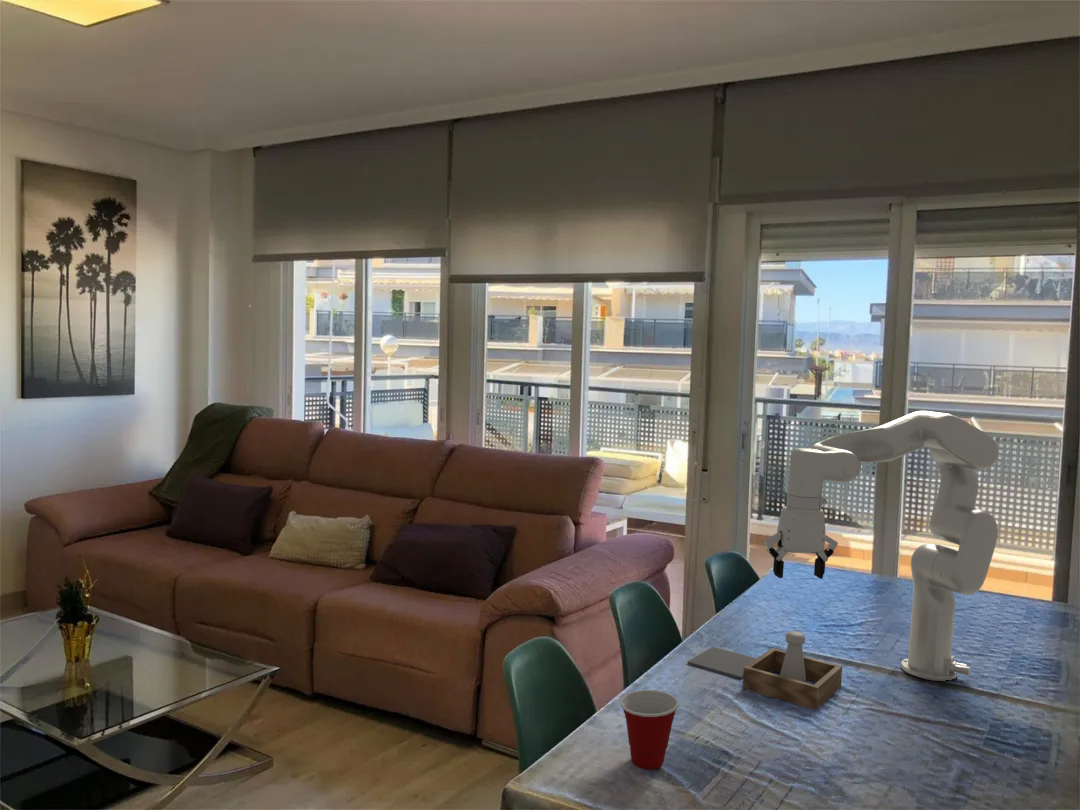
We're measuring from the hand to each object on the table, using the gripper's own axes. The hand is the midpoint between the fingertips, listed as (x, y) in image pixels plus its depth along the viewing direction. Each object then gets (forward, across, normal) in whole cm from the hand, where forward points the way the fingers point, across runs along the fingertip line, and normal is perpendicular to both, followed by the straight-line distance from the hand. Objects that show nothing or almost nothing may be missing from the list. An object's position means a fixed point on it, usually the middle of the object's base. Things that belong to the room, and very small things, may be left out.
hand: (798, 576), depth 195 cm
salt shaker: (+26, -1, 0) cm, 26 cm away
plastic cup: (+27, +43, +32) cm, 60 cm away
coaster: (+26, +10, -15) cm, 32 cm away
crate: (+26, -1, 0) cm, 26 cm away
